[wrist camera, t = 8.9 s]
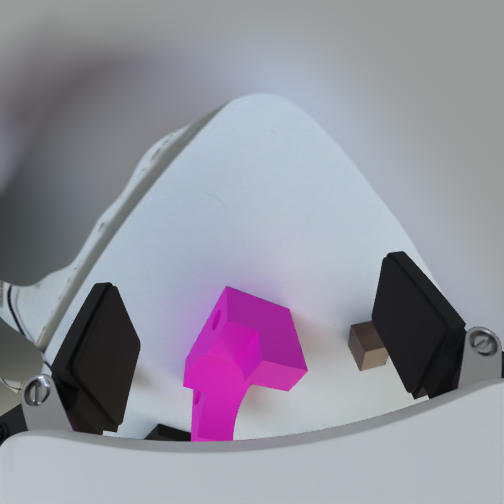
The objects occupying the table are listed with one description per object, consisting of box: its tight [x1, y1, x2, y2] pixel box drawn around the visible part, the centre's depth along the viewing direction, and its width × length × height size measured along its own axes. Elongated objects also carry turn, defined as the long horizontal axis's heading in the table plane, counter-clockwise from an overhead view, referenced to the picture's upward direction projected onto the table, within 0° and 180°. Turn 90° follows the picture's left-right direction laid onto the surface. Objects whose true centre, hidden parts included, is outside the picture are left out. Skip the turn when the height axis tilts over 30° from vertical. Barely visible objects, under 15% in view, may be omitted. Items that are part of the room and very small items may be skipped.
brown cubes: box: [348, 321, 389, 371], centre depth 26 cm, size 3×31×4 cm, turn 95°
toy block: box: [183, 286, 308, 442], centre depth 25 cm, size 15×6×8 cm, turn 153°
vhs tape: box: [144, 424, 191, 442], centre depth 37 cm, size 8×14×2 cm, turn 146°
